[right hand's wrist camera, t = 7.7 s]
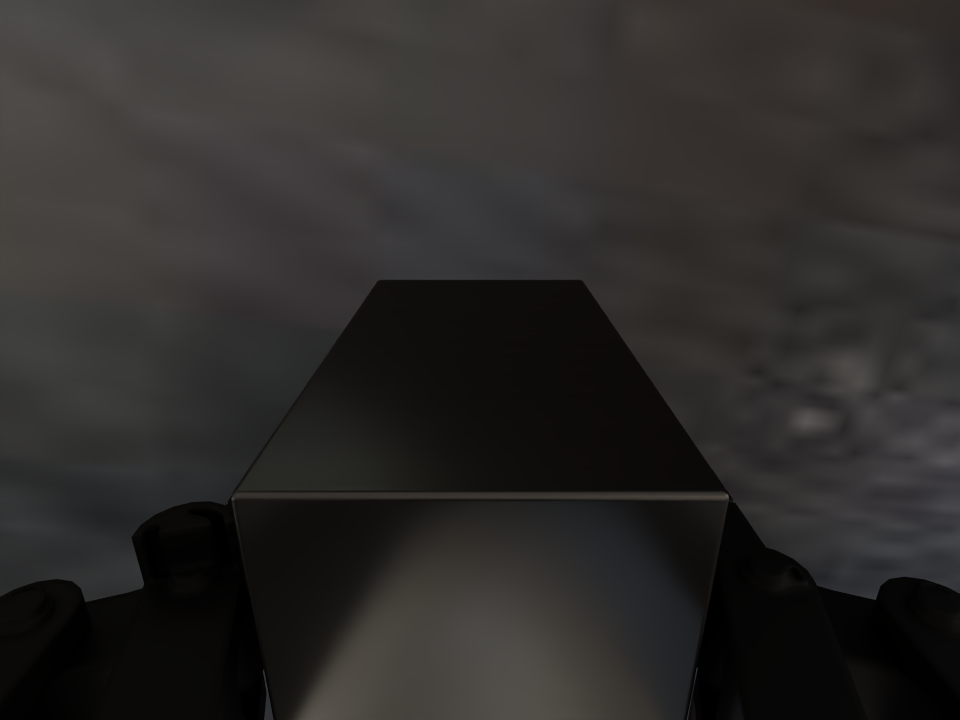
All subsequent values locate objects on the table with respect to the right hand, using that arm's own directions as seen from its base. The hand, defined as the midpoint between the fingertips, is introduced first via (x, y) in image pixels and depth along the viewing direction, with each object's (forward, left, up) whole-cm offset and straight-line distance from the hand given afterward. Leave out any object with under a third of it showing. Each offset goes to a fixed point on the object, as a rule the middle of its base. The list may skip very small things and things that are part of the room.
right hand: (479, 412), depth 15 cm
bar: (+10, +3, -1) cm, 10 cm away
